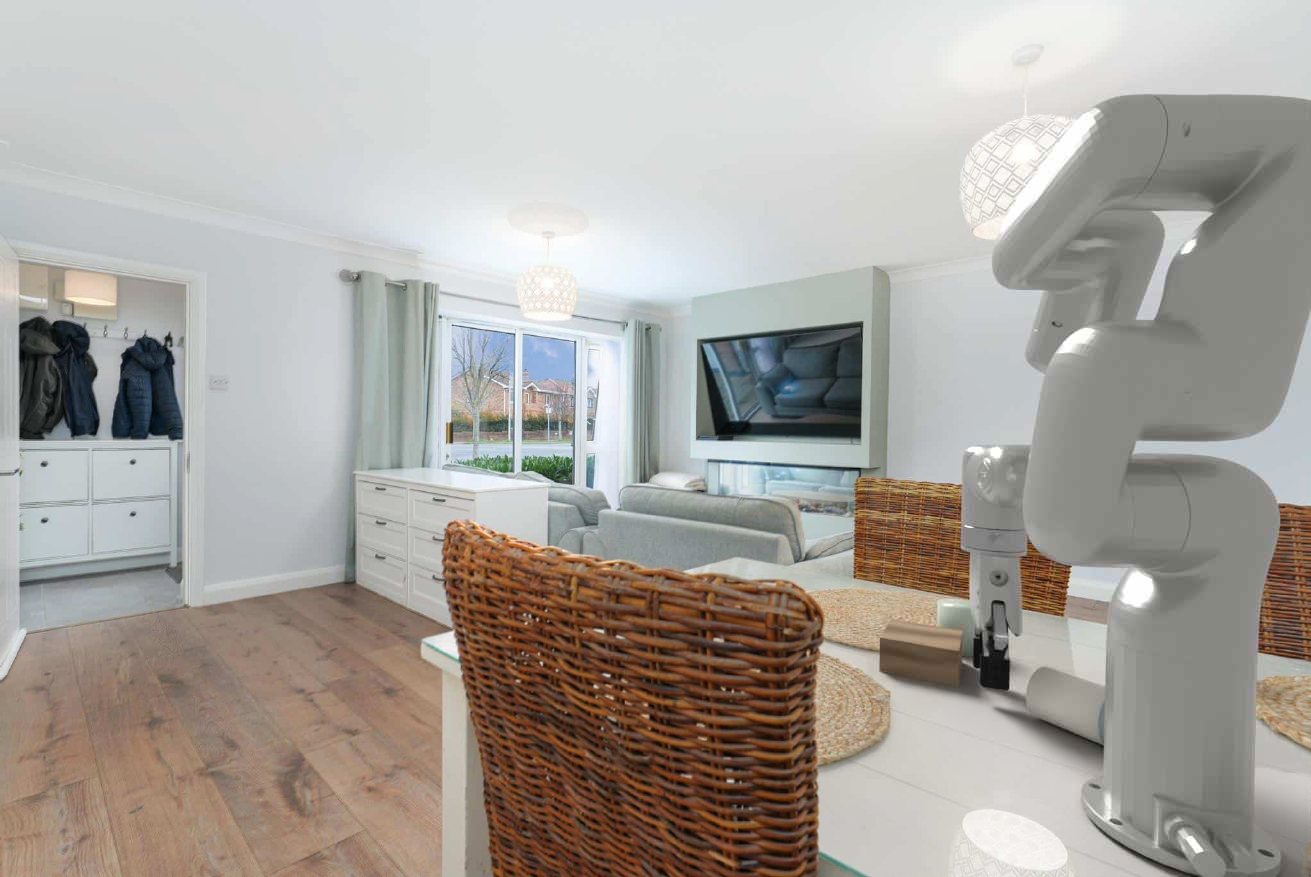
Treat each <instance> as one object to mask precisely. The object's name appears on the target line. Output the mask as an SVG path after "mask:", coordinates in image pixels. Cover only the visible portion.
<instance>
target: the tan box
mask: <svg viewBox="0 0 1311 877" xmlns="http://www.w3.org/2000/svg"><path fill="white" fill-rule="evenodd" d="M962 644H963V631H961V630H955V629H949V628H942V627H937V625H936V626H935V625H930V624H929V625H928V624H924V623H923V624H921V623H916V622H909V621H904V620H896V619H890V620H889V621H888V624H887V626H886V627H884V630H883V632H882V634H881V635H880V637H879V660H878V661H879V662H878V664H879V667H878V669H879V672H885V673H888V674H894V675H899V676H903V677H909V678H914V679H918V680H919V679H920V680H924V681H928V682H933V683H938V684H944V685H947V686H948V685H949V686H953V687H959V684H960V677H961V673H962V666H963V655H962Z"/></svg>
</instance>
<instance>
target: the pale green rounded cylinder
mask: <svg viewBox="0 0 1311 877" xmlns="http://www.w3.org/2000/svg"><path fill="white" fill-rule="evenodd" d="M936 603H937V607H936V609H937V610H936V627H942V628H949V629H955V630H961V631H963V644H962V657H963V656H965V657H968V656H969V657H973V638H978V637H975V623H974V620H973V618H972V616H971V612H970V600H964V599H961V598H960V599H958V598H942V599H938V600H937V601H936Z"/></svg>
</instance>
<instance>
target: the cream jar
mask: <svg viewBox="0 0 1311 877" xmlns="http://www.w3.org/2000/svg"><path fill="white" fill-rule="evenodd" d="M1025 702H1026V706H1027V710H1028V712H1030V714H1031V715H1032V716H1033V717H1034V718H1037V719H1039V720H1042V721H1044V722H1048V724H1051V725H1054V726H1057V727H1059V728H1061V729H1062V730H1063V729H1064V730H1066V731H1068V732H1071V733H1072V734H1075V735H1077V736H1080V737H1082V738H1085V739H1087V740H1089V741H1092V742H1095V743H1097V744H1099V745H1102V746H1104V723H1105V685H1103V684H1100V683H1097V682H1093V681H1091V680H1086V679H1084V678H1081V677H1078V676H1076V675H1073V674H1069V673H1066V672H1064V671H1060V670H1057V669H1054V668H1051V667H1049V666H1041V667H1039V668H1037V669H1036V670H1035V671H1034V672H1033V673H1032V675H1031V676H1030V678H1029V680H1028V683H1027V686H1026V692H1025Z"/></svg>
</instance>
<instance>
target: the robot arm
mask: <svg viewBox="0 0 1311 877" xmlns="http://www.w3.org/2000/svg"><path fill="white" fill-rule="evenodd" d="M1176 211H1177V212H1208V213H1211V214H1210V216H1208V217H1207V218H1206V219H1205V220H1204V221H1203V222H1201V223H1200V224H1199V225H1198V226H1197V228H1195V230H1193V231H1192V233H1191V234H1190V235H1189V236H1188V237H1187V239H1186V240H1185V241H1184V242H1183V244H1182V245H1181V246H1180V247H1179V249H1178V250H1177V252H1176V253H1175V255H1174V256H1173V257H1172V260H1171V262H1170V264H1169V267H1168V269H1167V271H1166V274H1165V278H1164V285H1163V291H1162V294H1161V295H1162V297H1161V300H1160V302H1159V306H1158V309H1157V312H1156V315H1155V317H1154V318H1153V319H1137V317H1138V314H1139V312H1140V309H1141V306H1142V304H1143V301H1144V298H1145V296H1146V293H1147V291H1148V288H1149V285H1150V283H1151V280H1152V277H1153V274H1154V272H1155V269H1156V267H1157V265H1158V261H1159V260H1160V256H1161V253H1162V251H1163V247H1164V241H1165V239H1166V238H1165V237H1166V235H1165V234H1166V232H1165V231H1166V230H1165V227H1164V226H1165V225H1164V224H1163V222H1162V220H1161V218H1160V217H1159V216H1158V215H1157V214H1156V213H1155V212H1176ZM1006 215H1007V216H1006V217H1005V218H1004V221H1003V222H1002V225H1001V226H1000V229H999V231H998V234H997V236H996V239H995V242H994V246H993V249H992V250H993V251H992V254H991V268H992V274H993V275H994V277H995V280H996V282H997V283H998V284H999V285H1000V286H1001V287H1003V288H1006V289H1009V290H1013V291H1042V294H1041V297H1040V301H1039V303H1038V307H1037V311H1036V314H1035V317H1034V320H1033V321H1034V322H1033V325H1032V327H1031V330H1030V335H1029V338H1028V341H1027V343H1026V347H1025V351H1024V357H1025V359H1026V362H1027V363H1028V364H1029V365H1030V366H1031V367H1032V368H1034V369H1035V370H1037V371H1038V372H1041V373H1042V374H1044V377H1043V380H1042V384H1041V390H1040V393H1039V400H1038V405H1037V411H1036V417H1035V423H1034V427H1033V435H1032V439H1031V440H1032V441H1031V444H1000V445H991V444H990V445H989V444H988V445H987V444H984V445H982V444H981V445H972V446H969V447H968V448H966V449H965V451H964V452H963V455H962V463H961V465H962V469H961V470H962V473H961V474H962V476H961V512H960V513H961V514H960V515H961V518H960V519H961V520H960V549H961V550H962V551H965V552H969V577H968V578H969V581H968V582H969V589H968V590H969V601H970V612H971V616H972V618H973V620H974V623H975V637H978V638H973V656H972V665H973V668H975V669H978V670H979V684H980V686H981V687H982V688H985V689H993V690H999V691H1005V692H1008V691H1010V677H1011V676H1010V675H1011V674H1010V672H1011V658H1010V644H1009V643H1010V640H1009V639H1010V638H1009V637H1010V636H1009V630H1010V632H1011V634H1013V635H1014V636H1015V637H1017V638H1018V637H1020V636H1022V635H1023V598H1022V594H1023V593H1022V574H1021V573H1022V572H1021V571H1022V570H1021V563H1020V557H1026V556H1027V554H1028V539H1029V541H1030V543H1031V544H1032V545H1033V547H1034V548H1035V549H1036V550H1037V552H1039V553H1040V554H1041V555H1042V556H1044V557H1045V558H1047V559H1049V560H1050V561H1053V562H1054V563H1059V564H1062V565H1066V566H1072V567H1081V568H1082V567H1083V568H1105V569H1106V568H1110V569H1111V568H1112V569H1113V568H1114V569H1116V568H1117V569H1127V570H1126V572H1125V573H1124V574H1123V576H1122V578H1121V579H1120V581H1119V583H1118V584H1117V585H1116V588H1115V589H1114V591H1113V594H1112V596H1111V599H1110V602H1109V606H1108V608H1107V609H1108V610H1107V618H1106V641H1105V643H1106V644H1105V648H1106V649H1105V683H1104V684H1105V685H1104V686H1105V723H1104V745H1103V772H1102V774H1103V775H1101V776H1096V777H1093V778H1090V779H1088V780H1087V781H1085V782H1084V783H1083V784H1082V788H1081V790H1080V792H1081V794H1080V795H1081V796H1080V801H1081V802H1080V803H1081V805H1082V808H1083V810H1084V812H1085V813H1086V815H1087V816H1088V818H1089V819H1090V820H1091V821H1092V822H1093V823H1094V824H1095V825H1096V826H1097V827H1098V828H1100V829H1101V830H1102V831H1103V832H1104V833H1105V834H1107V835H1108V836H1110V837H1111V839H1114V840H1115V841H1117V842H1118V843H1120V844H1122V845H1124V846H1125V847H1126V848H1128V849H1130V850H1132V851H1134V852H1136V853H1138V854H1139V855H1140V856H1141V855H1142V856H1144V857H1145V858H1148V859H1150V860H1151V861H1152V860H1153V861H1155V862H1157V863H1159V864H1161V865H1164V866H1166V867H1170V868H1172V869H1174V870H1177V871H1180V872H1183V873H1187V874H1190V875H1194V876H1197V877H1278V876H1279V874H1280V872H1281V870H1282V854H1281V853H1282V852H1281V850H1280V848H1279V846H1278V845H1277V843H1276V842H1275V841H1274V840H1273V839H1272V837H1271V836H1270V835H1269V834H1268V833H1267V832H1265V831H1264V830H1263V829H1262V828H1261V827H1260V826H1258V824H1256V823H1255V822H1254V819H1255V818H1254V815H1255V814H1254V813H1255V809H1254V808H1255V776H1256V774H1255V773H1256V772H1255V771H1256V769H1255V768H1256V761H1255V760H1256V738H1257V737H1256V732H1257V731H1256V728H1257V691H1258V690H1257V688H1258V661H1259V635H1260V634H1259V633H1260V630H1259V629H1260V620H1261V619H1260V617H1261V606H1262V599H1263V595H1264V594H1263V593H1264V588H1265V584H1266V580H1267V576H1268V572H1269V568H1270V566H1271V563H1272V559H1273V557H1274V552H1275V550H1276V546H1277V542H1278V539H1279V534H1280V526H1281V514H1280V506H1279V503H1278V501H1277V497H1276V496H1275V494H1274V492H1273V490H1272V489H1271V488H1270V485H1268V483H1267V482H1266V481H1265V480H1264V479H1263V478H1262V477H1260V475H1259V474H1257V473H1256V472H1254V471H1253V470H1252V469H1250V468H1247V467H1246V466H1245V465H1242V464H1239V463H1238V462H1235V461H1232V460H1229V459H1226V458H1220V457H1216V456H1210V455H1201V454H1194V453H1193V454H1191V453H1155V452H1154V453H1151V452H1150V453H1149V452H1147V453H1146V452H1142V453H1141V452H1139V453H1138V452H1137V453H1134V452H1135V448H1136V445H1137V442H1146V441H1147V442H1184V443H1185V442H1190V443H1191V442H1193V443H1194V442H1200V443H1201V442H1204V443H1207V442H1222V441H1237V440H1242V439H1246V438H1250V437H1252V436H1256V435H1257V434H1259V433H1262V432H1263V431H1265V430H1266V429H1268V428H1269V427H1270V426H1271V425H1272V424H1273V423H1274V421H1276V419H1277V418H1278V416H1279V414H1280V413H1281V411H1282V408H1283V406H1284V404H1285V401H1286V398H1287V396H1288V394H1289V390H1290V387H1291V383H1292V379H1293V376H1294V373H1295V372H1294V371H1295V368H1296V364H1297V362H1298V359H1299V358H1298V357H1299V354H1300V351H1301V347H1302V343H1303V339H1304V336H1305V333H1306V332H1305V331H1306V328H1307V325H1308V321H1309V318H1310V314H1311V99H1308V98H1307V99H1305V98H1299V97H1293V96H1281V95H1266V94H1265V95H1264V94H1232V93H1231V94H1230V93H1229V94H1228V93H1227V94H1224V93H1223V94H1219V93H1218V94H1216V93H1214V94H1167V93H1166V94H1162V93H1161V94H1160V93H1157V94H1156V93H1154V94H1153V93H1146V94H1145V93H1143V94H1141V93H1139V94H1125V95H1124V94H1123V95H1120V96H1114V97H1110V98H1108V99H1105V100H1103V101H1101V102H1099V103H1097V104H1095V105H1093V106H1092V107H1090V108H1088V110H1086V112H1084V113H1083V114H1082V115H1081V116H1080V117H1078V119H1076V121H1074V123H1073V124H1072V125H1071V126H1070V127H1069V129H1068V130H1067V131H1066V132H1065V133H1064V135H1063V136H1062V137H1061V139H1060V140H1059V141H1058V143H1057V144H1056V145H1055V146H1054V148H1053V149H1052V151H1050V153H1049V155H1048V156H1047V158H1045V160H1044V162H1043V163H1042V165H1041V166H1040V167H1039V168H1038V170H1037V171H1036V172H1035V174H1034V176H1033V177H1031V179H1030V180H1029V181H1028V183H1027V184H1026V186H1025V187H1024V189H1023V190H1022V192H1021V193H1020V194H1019V196H1018V198H1017V199H1016V200H1015V202H1014V203H1013V205H1012V206H1011V208H1010V210H1009V212H1008V213H1007V214H1006Z"/></svg>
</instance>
